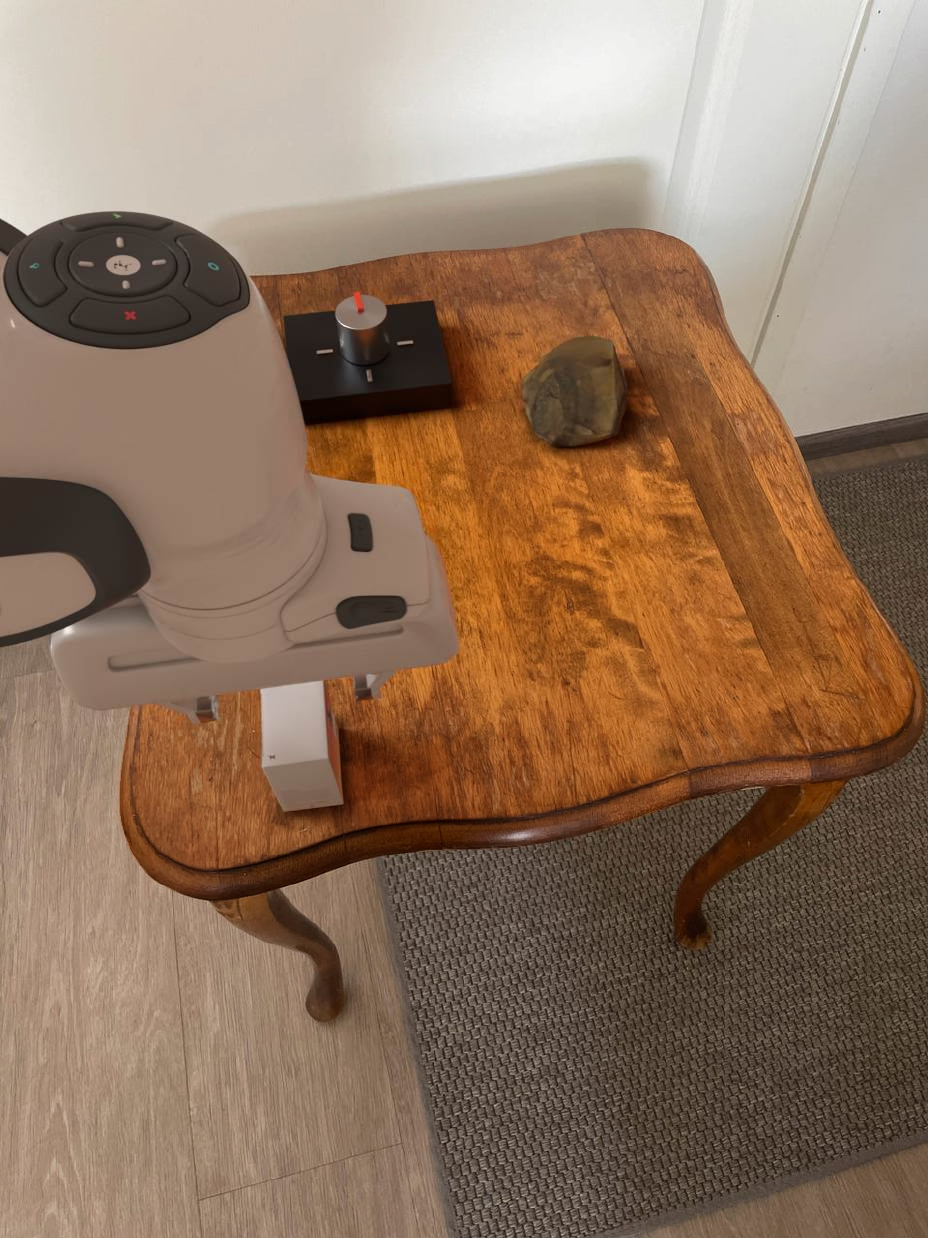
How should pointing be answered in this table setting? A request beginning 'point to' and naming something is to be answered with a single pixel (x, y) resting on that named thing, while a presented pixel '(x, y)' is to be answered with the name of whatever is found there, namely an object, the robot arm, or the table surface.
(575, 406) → the decorative stone
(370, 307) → the dial
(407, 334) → the panel
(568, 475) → the table surface
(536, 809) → the table surface
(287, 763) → the small box
